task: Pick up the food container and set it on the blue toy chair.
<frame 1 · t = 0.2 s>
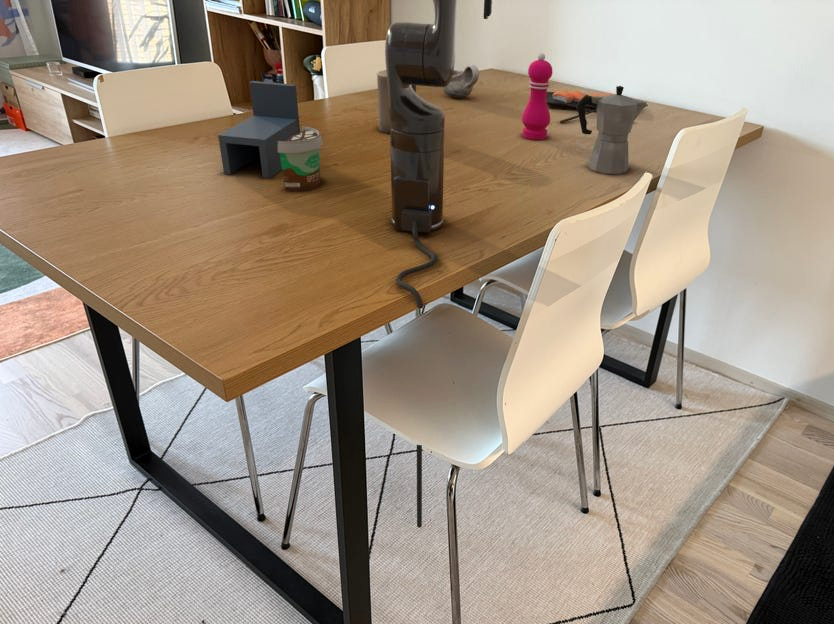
hand: (466, 17, 149), 29 cm above the table, tool pointing down, fingers open, 8 cm apart
pillar candle: (397, 130, 180), on the table
sushi plate: (585, 113, 205), on the table
food container: (309, 185, 143), on the table
blue toy chair: (264, 163, 153), on the table
pepper mill: (534, 137, 181), on the table
coffeepot: (603, 168, 161), on the table
grey curved hollow piece: (461, 98, 213), on the table
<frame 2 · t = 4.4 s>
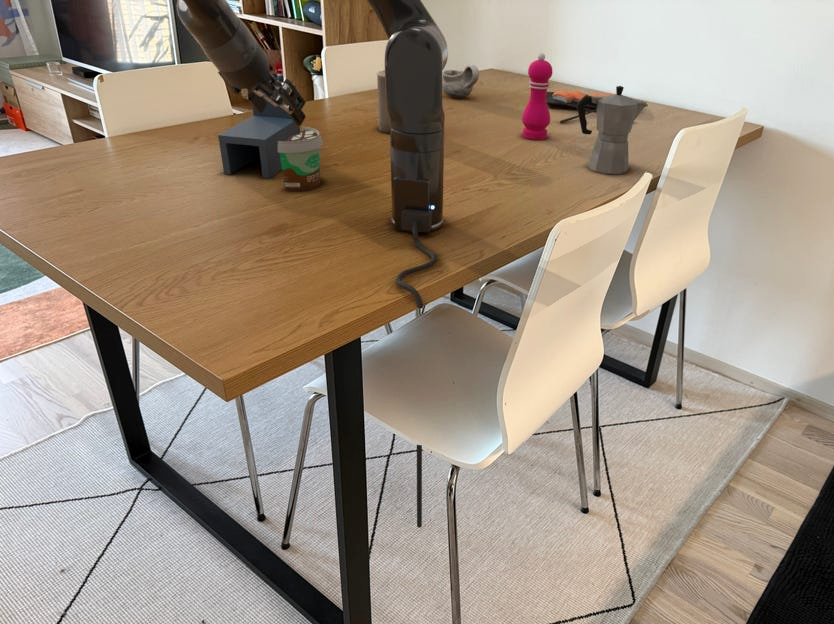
hand: (282, 114, 123), 17 cm above the table, tool tilted 40°, fingers open, 8 cm apart
nothing on the table moved.
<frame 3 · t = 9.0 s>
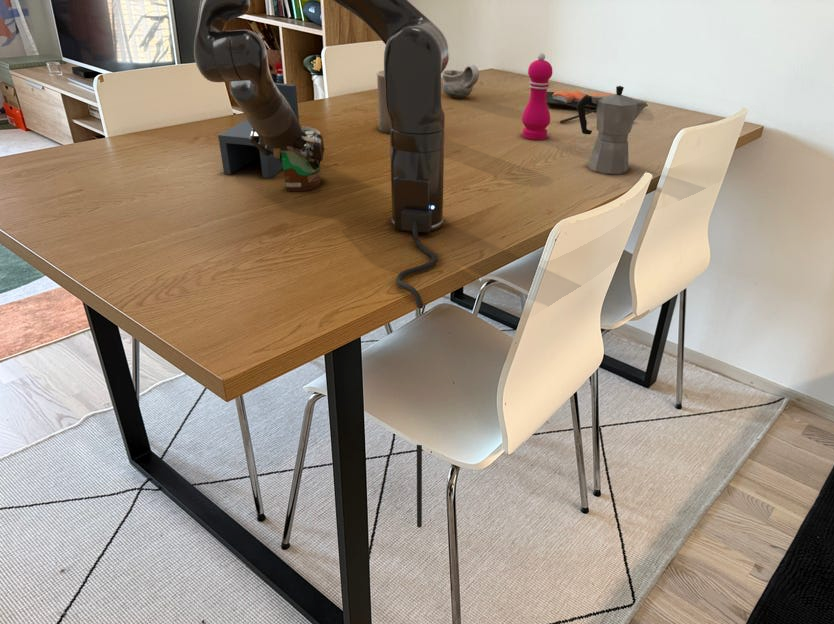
hand: (302, 163, 139), 5 cm above the table, tool tilted 45°, fingers closed on food container, 5 cm apart
food container: (309, 185, 143), on the table, touching gripper
everything else where it was.
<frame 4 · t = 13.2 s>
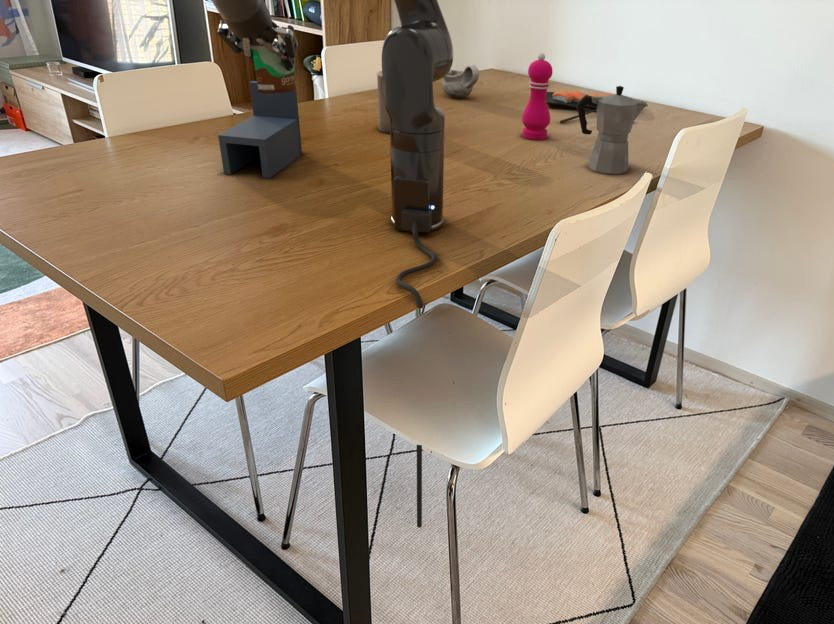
hand: (275, 65, 132), 22 cm above the table, tool tilted 45°, fingers closed on food container, 5 cm apart
food container: (284, 90, 137), point 17 cm above the table, touching gripper
everything else where it was.
when the fingers open (13 cm above the table, at t = 17.6 s): food container stays where it is, resting on blue toy chair.
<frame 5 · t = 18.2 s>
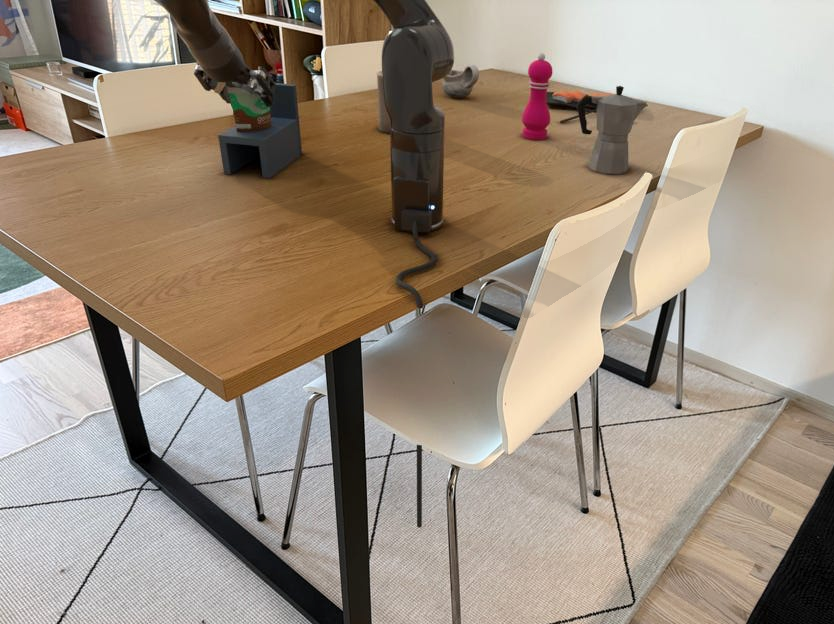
hand: (250, 101, 142), 14 cm above the table, tool tilted 45°, fingers open, 8 cm apart
food container: (260, 128, 147), point 8 cm above the table, touching blue toy chair
everything else where it was.
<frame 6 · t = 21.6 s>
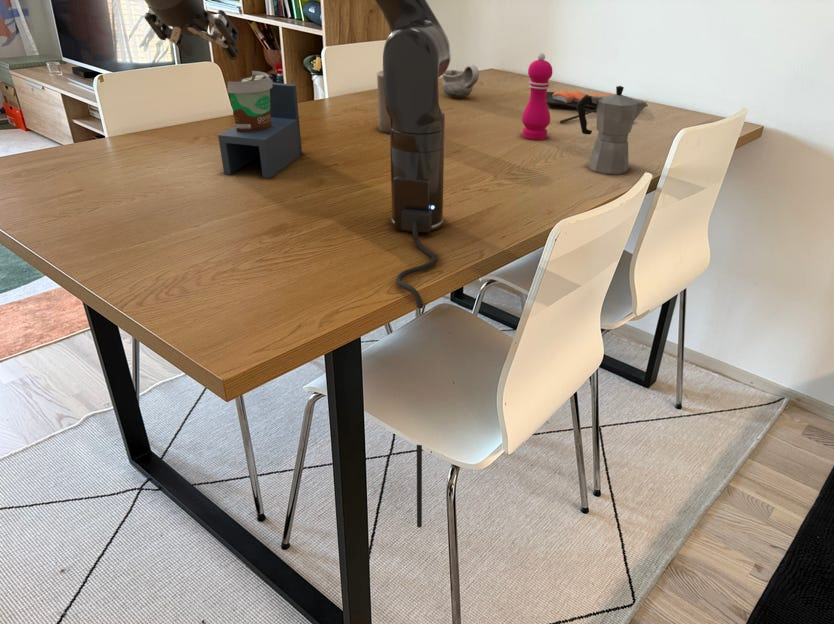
hand: (212, 53, 126), 25 cm above the table, tool tilted 45°, fingers open, 8 cm apart
nothing on the table moved.
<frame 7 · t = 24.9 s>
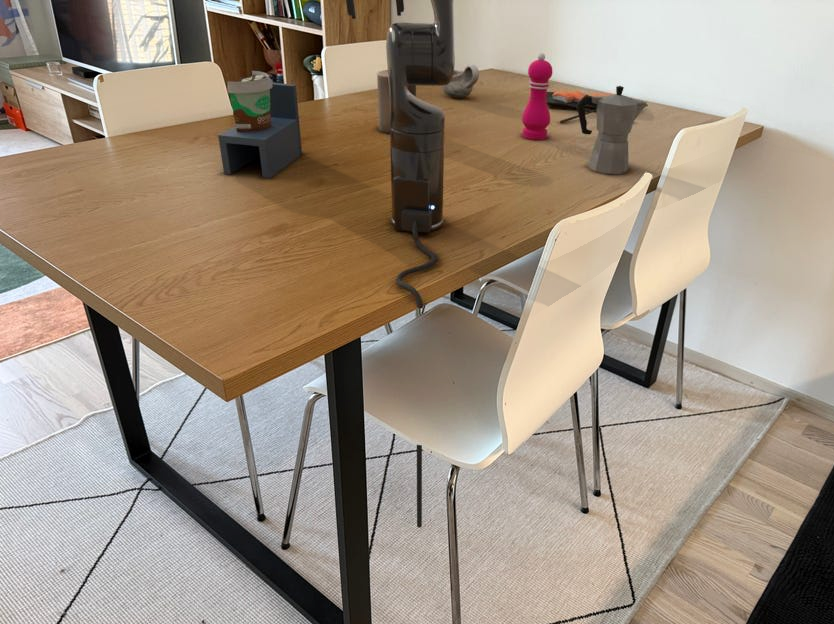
hand: (376, 17, 133), 31 cm above the table, tool pointing down, fingers open, 8 cm apart
nothing on the table moved.
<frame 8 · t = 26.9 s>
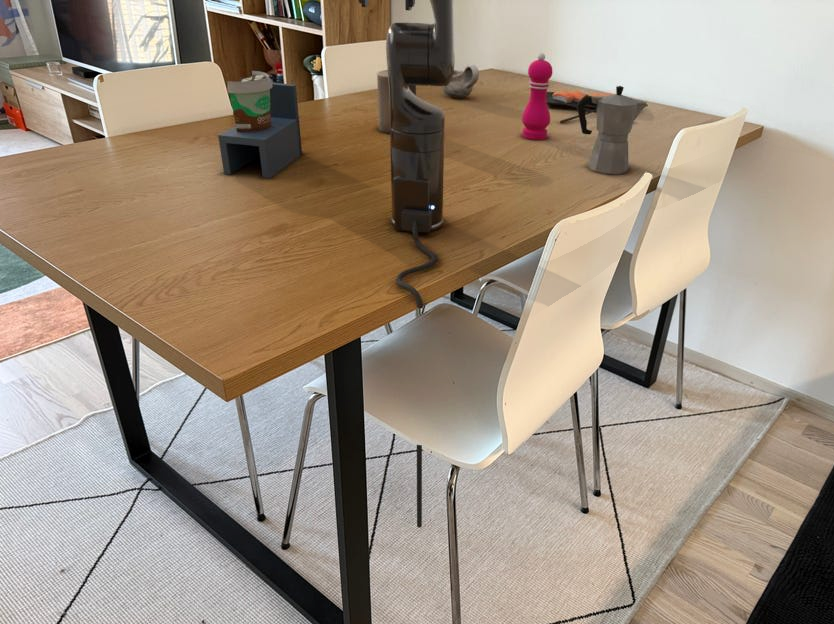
hand: (386, 8, 133), 32 cm above the table, tool pointing down, fingers open, 8 cm apart
nothing on the table moved.
at the end: food container inside the target area on the blue toy chair (0.7 cm from its centre), point 7.8 cm above the blue toy chair's base; food container tilted 0°; the gripper is holding nothing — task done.
